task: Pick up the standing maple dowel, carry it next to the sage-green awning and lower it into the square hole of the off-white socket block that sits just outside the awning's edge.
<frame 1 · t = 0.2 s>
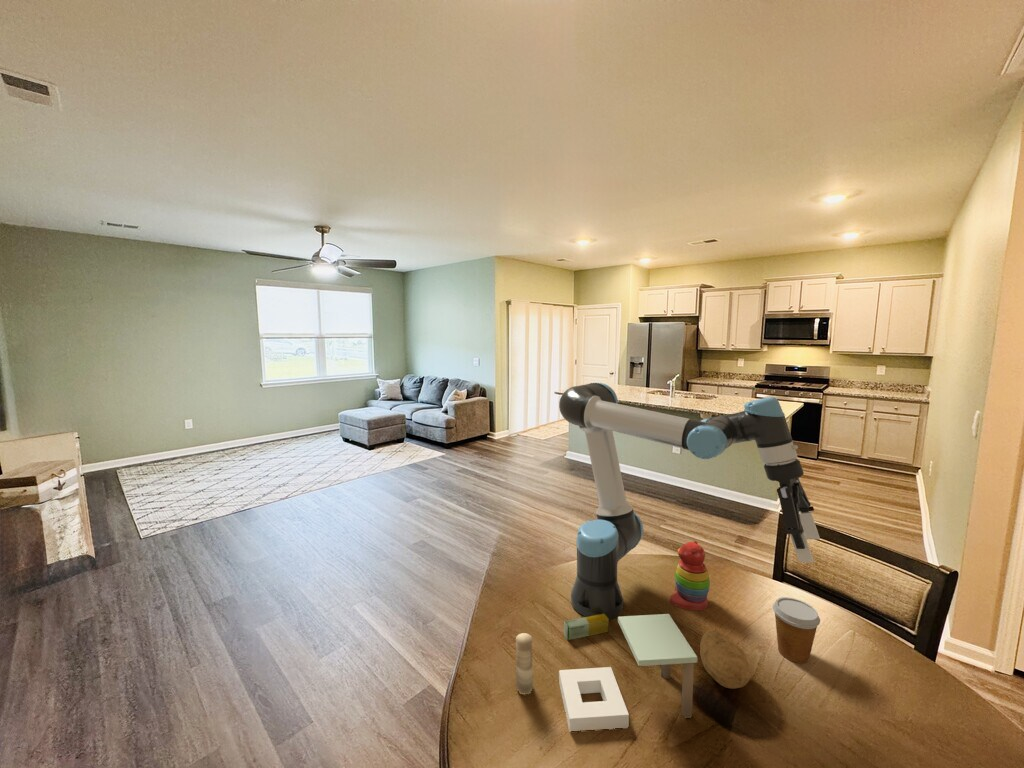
hand: (810, 549, 96), 28 cm above the table, tool tilted 20°, fingers open, 13 cm apart
disposable coffee cup: (793, 654, 101), on the table
awning: (653, 695, 90), on the table
peg: (524, 688, 92), on the table
potato: (722, 676, 95), on the table
stacking bear: (690, 600, 122), on the table
medication box: (586, 634, 109), on the table
socket block: (591, 703, 88), on the table
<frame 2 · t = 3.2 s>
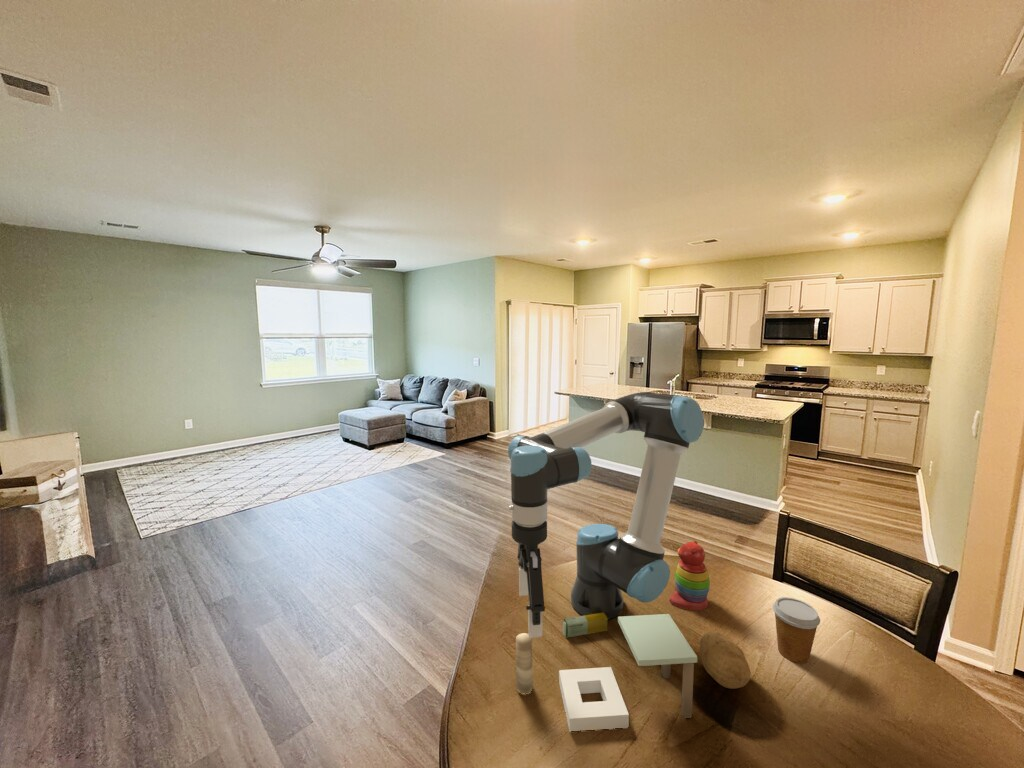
hand: (529, 613, 89), 19 cm above the table, tool pointing down, fingers open, 13 cm apart
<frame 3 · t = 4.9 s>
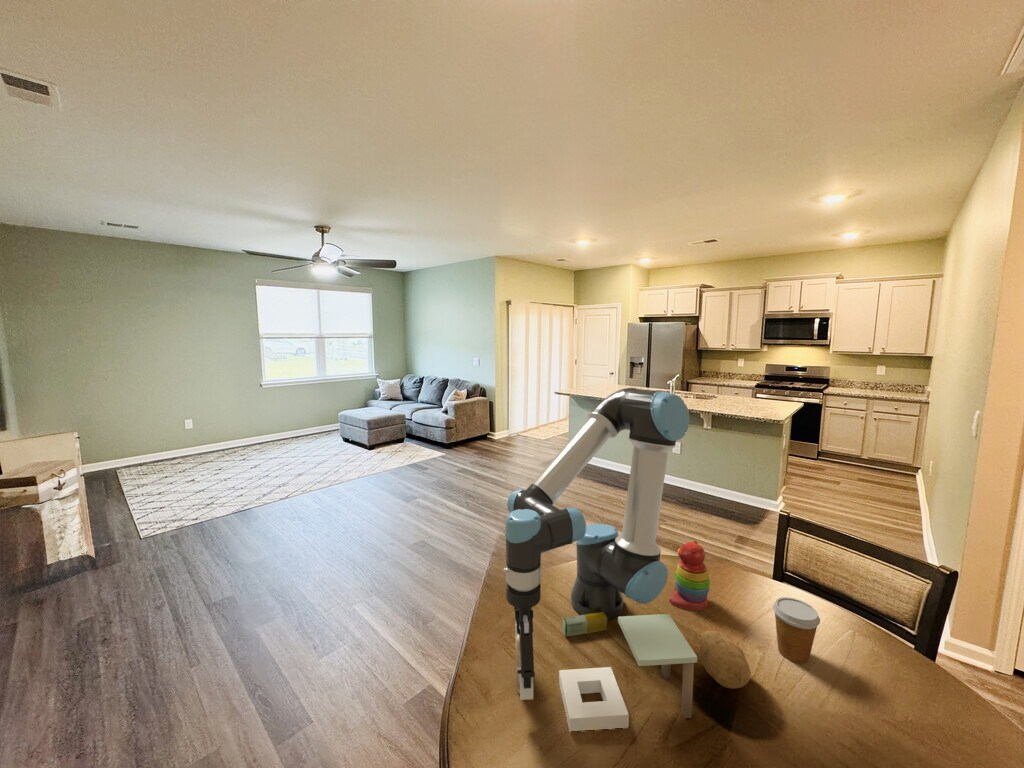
hand: (523, 671, 91), 4 cm above the table, tool pointing down, fingers open, 13 cm apart
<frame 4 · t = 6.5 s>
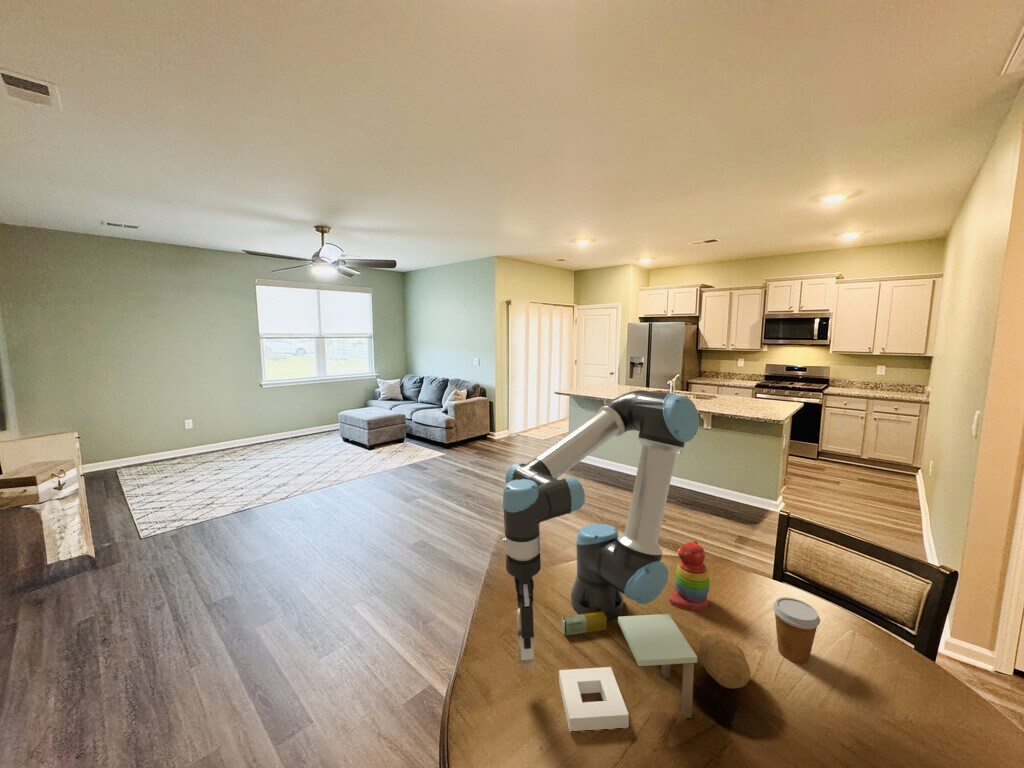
hand: (526, 650, 91), 9 cm above the table, tool pointing down, fingers closed on peg, 3 cm apart
peg: (526, 661, 92), point 6 cm above the table, touching gripper
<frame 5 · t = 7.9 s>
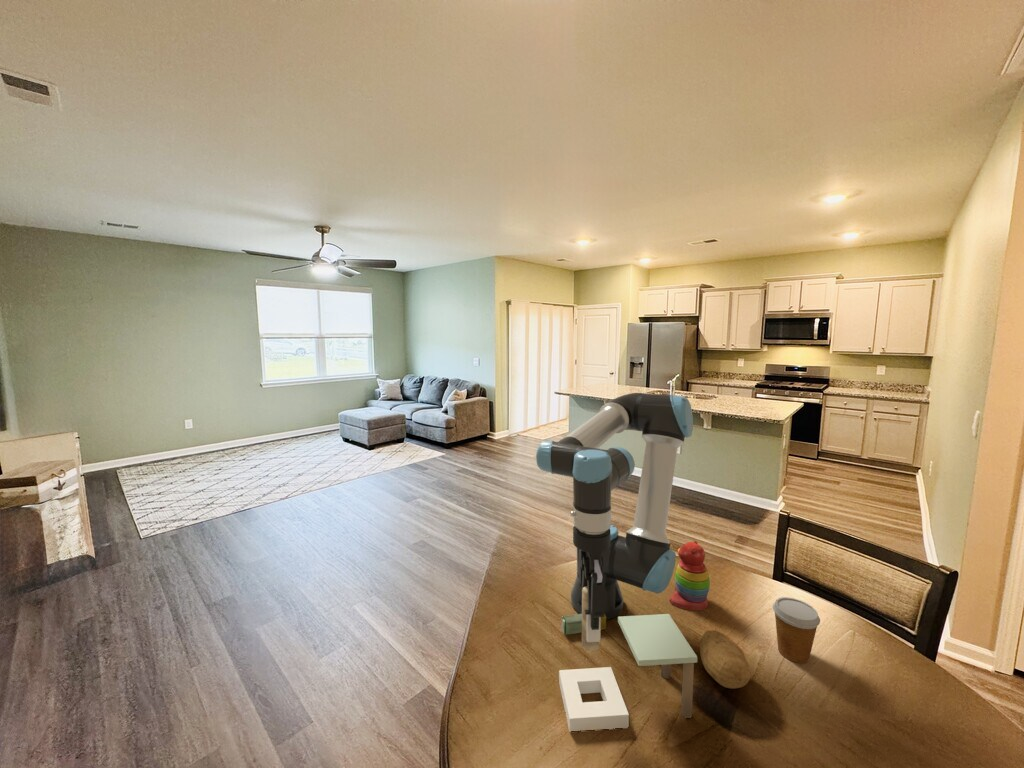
hand: (590, 632, 86), 16 cm above the table, tool pointing down, fingers closed on peg, 3 cm apart
peg: (590, 644, 86), point 14 cm above the table, touching gripper
when the fingers open (4 cm above the table, at t = 9.9 s): peg stays where it is, resting in socket block.
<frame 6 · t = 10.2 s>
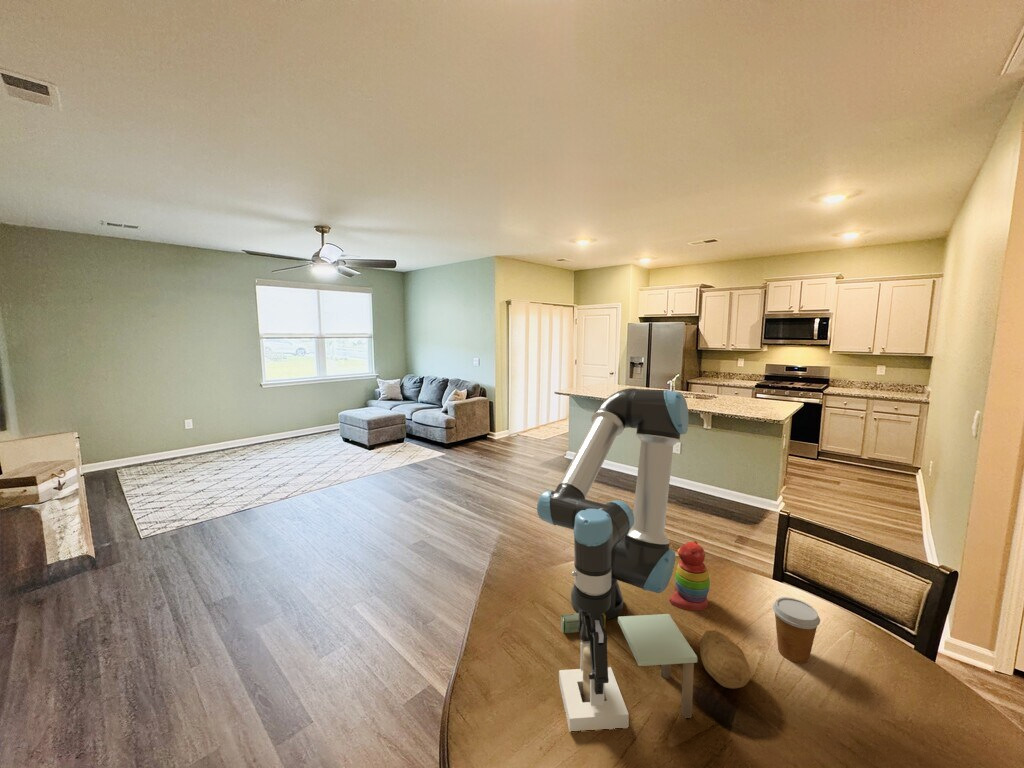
hand: (591, 685, 87), 4 cm above the table, tool pointing down, fingers open, 8 cm apart
peg: (591, 703, 88), resting in socket block
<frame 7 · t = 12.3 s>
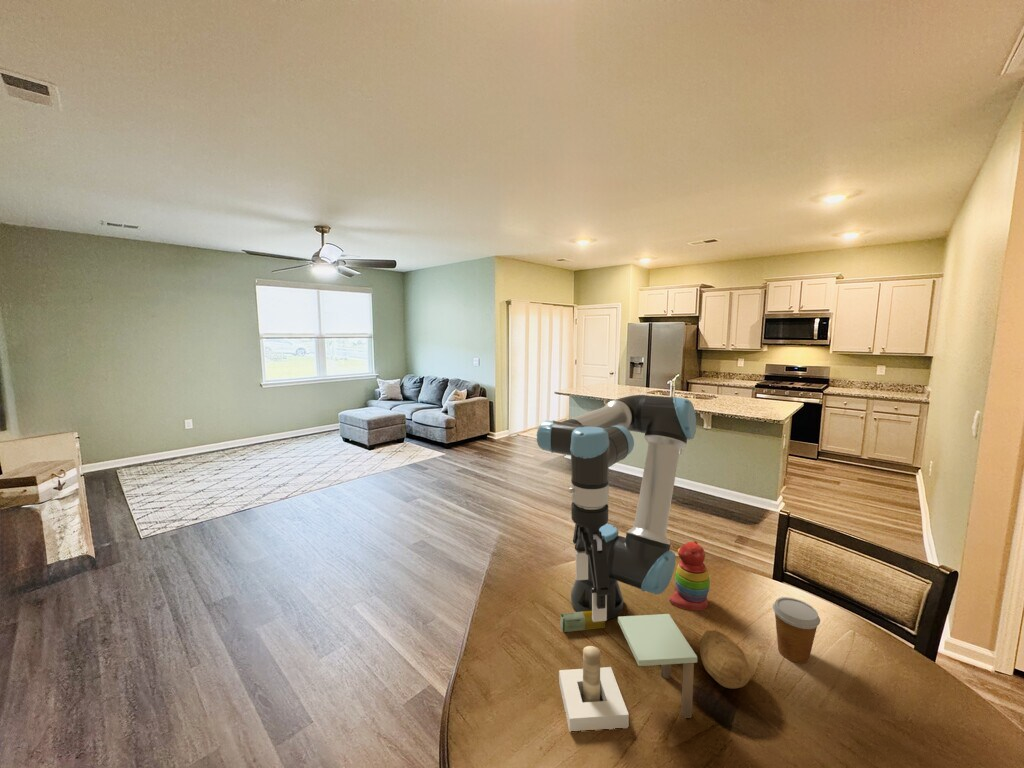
hand: (589, 598, 87), 23 cm above the table, tool pointing down, fingers open, 13 cm apart
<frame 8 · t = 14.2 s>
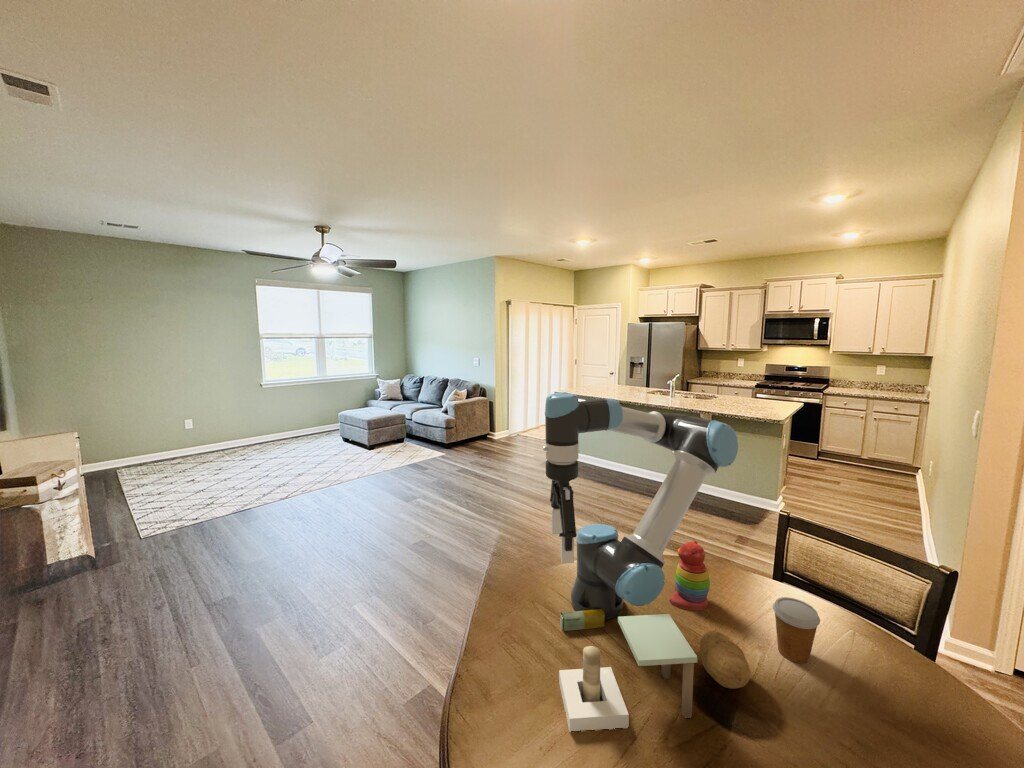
hand: (561, 547, 97), 29 cm above the table, tool pointing down, fingers open, 13 cm apart
at the end: peg 0.1 cm off-centre on the socket block, point 0.0 cm above the socket block's base; peg tilted 0°; the gripper is holding nothing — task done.
